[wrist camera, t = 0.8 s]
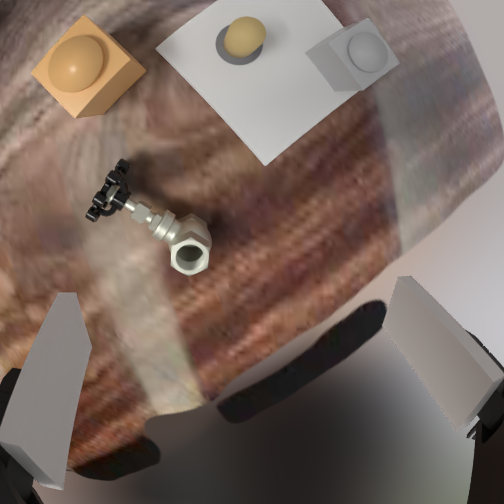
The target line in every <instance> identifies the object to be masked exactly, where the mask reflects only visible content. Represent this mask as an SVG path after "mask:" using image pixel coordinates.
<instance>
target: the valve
mask: <svg viewBox="0 0 504 504" xmlns="http://www.w3.org/2000/svg"><path fill="white" fill-rule="evenodd" d="M129 165H130V163H128V162H127V161H125V160H124V159H122V158H121V159H120V160H119V162H118V163H117V165H116V167H115V170H114V171H113V170H111V171H110V172H109V174H108V175H107V177H106V179H105V181H106V182H105V184H104V186H103V187H102V189H101V190H100V191H98V192H97V193H96V195H95V196H94V198H93V200H92V202H93V203H94V204H93V206H92V207H90V209H89V210H88V212H87V214H86V216H85V217H86V218H87V219H89V220H91V221H92V222H96V221H97V220H98V218H99V217H100V215H102V216H105V217H107V216H111V215H113V214H114V213H115V212H116V210H119V211H121V210H122V208H123V207H124V208H126V209H127V210H129V211H130V212H132V214H131V216H130V217H131V218H133V219H134V220H136V221H137V222H139V223H141V224H142V223H143V221H145V222H146V223H148V228H149V229H150V230H152V232H151V237H152V238H154V239H156V240H157V241H161V240H164V241H166V242H167V243H168V244H169V249H170V252H171V266H172V267H174V268H175V269H177V270H178V271H180V272H182V273H183V274H186V275H188V276H190V275H193V274H196V273H198V272H200V271H202V270H204V269H206V268H208V260H209V252H210V250H211V245H212V239H211V235H210V233H209V231H208V229H207V222H205V221H204V220H202V219H200V218H199V217H197V216H196V215H194V214H193V213H191V214H188V215H186V216H184V217H182V218H180V219H178V220H176V219H175V214H173V213H172V212H170V211H169V210H165V211H164V213H163V214H162V213H161V212H159V211H157V212H156V213H154V212H152V211H151V208H152V207H151V206H150V205H148V204H147V203H145V202H144V201H142V200H140V201H139V202H138V203H136V202H135V201H133V200H131V199H130V198H129V197H130V195H131V193H130V192H129V191H128V185H127V183H126V182H125V180H123V179H122V178H121V175H122V173H124V174H126V173H127V171H128V170H129V168H130V167H129ZM108 204H109V205H111V206H112V207H111V209H110V210H108V211H106V210H104V209H105V208H106V207H107V205H108ZM102 208H104V209H102Z"/></svg>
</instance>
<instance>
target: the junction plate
mask: <svg viewBox="0 0 504 504" xmlns="http://www.w3.org/2000/svg"><path fill="white" fill-rule="evenodd" d="M341 28H343V26H342V25H341V23H340V22H339V21H338V20H337V18H336V17H335V16H334V15H333V13H332V12H331V11H330V10H329V9H328V7H327V6H326V5H325V4H324V3H323V2H322V1H321V0H217V1H216V2H214V3H213V4H212V5H210V6H209V7H207V8H206V9H204V10H203V11H202V12H200V13H199V14H198V15H196V16H195V17H193V18H192V19H191V20H189V21H188V22H187V23H186V24H184V25H183V26H182V27H180V28H179V29H178V30H177V31H175V32H174V33H173V34H172V35H170V36H169V37H168V38H167V39H166V40H164V41H163V42H162V43H161V44H160V45H158V46H157V47H156V48H155V49H156V51H157V52H158V53H160V54H161V55H162V56H163V57H164V58H165V59H166V60H167V61H168V62H169V63H170V64H171V65H172V66H173V67H174V68H175V69H176V70H177V71H178V72H179V74H180V75H181V76H182V77H183V78H184V79H185V80H186V81H187V82H188V83H189V84H190V85H191V86H192V87H193V88H194V89H195V90H196V91H197V92H198V93H199V94H200V95H201V96H202V97H203V98H204V99H205V101H206V102H207V103H208V104H209V105H210V106H211V107H212V108H213V109H214V110H215V111H216V112H217V113H218V114H219V116H220V117H221V118H222V119H223V120H224V121H225V122H226V123H227V124H228V125H229V126H230V128H231V129H232V130H233V131H234V132H235V133H236V134H237V135H238V136H239V138H240V139H241V140H242V141H243V142H244V143H245V144H246V145H247V146H248V148H249V149H250V150H251V151H252V152H253V153H254V154H255V156H256V157H257V158H258V159H259V160H260V161H261V162H262V164H263V165H264V166H266V165H267V164H269V163H270V162H271V161H272V160H273V159H275V158H276V157H277V156H278V155H279V154H281V153H282V152H283V151H284V150H285V149H287V148H288V147H289V146H290V145H291V144H293V143H294V142H295V141H296V140H297V139H299V138H300V137H301V136H302V135H304V134H305V133H306V132H307V131H309V130H310V129H311V128H312V127H313V126H315V125H316V124H317V123H318V122H320V121H321V120H322V119H323V118H325V117H326V116H327V115H329V114H330V113H331V112H332V111H334V110H335V109H336V108H337V107H339V106H340V105H341V104H343V103H344V102H345V101H346V100H348V99H349V98H350V97H352V96H353V95H354V94H356V93H357V92H358V91H334V90H333V88H332V87H331V86H330V84H329V83H328V82H327V80H326V79H325V78H324V76H323V75H322V74H321V73H320V71H319V70H318V69H317V67H316V66H315V65H314V64H313V62H312V61H311V60H310V59H309V57H308V56H307V55H306V54H305V52H306V51H308V50H309V49H311V48H312V47H314V46H315V45H316V44H318V43H319V42H321V41H322V40H324V39H325V38H327V37H328V36H330V35H332V34H333V33H335V32H336V31H338V30H339V29H341Z"/></svg>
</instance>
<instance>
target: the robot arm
mask: <svg viewBox="0 0 504 504" xmlns="http://www.w3.org/2000/svg"><path fill="white" fill-rule="evenodd" d="M382 327H383V328H384V330H385V331H386V332H387V334H388V335H389V336H390V338H391V339H392V340H393V342H394V343H395V345H396V346H397V347H398V349H399V350H400V351H401V353H402V354H403V356H404V357H405V358H406V360H407V361H408V363H409V364H410V365H411V367H412V368H413V370H414V371H415V372H416V374H417V375H418V376H419V378H420V379H421V381H422V382H423V384H424V385H425V386H426V388H427V389H428V391H429V392H430V394H431V395H432V397H433V398H434V399H435V401H436V402H437V404H438V406H439V407H440V409H441V410H442V412H443V413H444V414H445V416H446V417H447V419H448V420H449V422H450V423H451V425H452V427H453V428H454V430H455V431H458V430H460V429H462V428H464V427H466V426H468V425H469V424H470V423H471V422H472V420H473V419H474V418H475V417H476V416H477V415H478V417H479V418H480V420H479V421H478V422H477V423H476V425H475V426H474V427H473V428H472V429H471V430H470V432H469V433H468V434H467V438H469V437H470V436H471V435H472V434H473V433H474V432H475V431H476V434H475V435H474V436H473V437H472V439H474V440H475V449H474V460H473V469H472V476H471V483H470V490H469V496H468V501H467V504H504V367H503V366H502V365H501V364H500V363H499V362H498V361H497V359H496V358H495V357H494V356H493V355H492V354H491V353H489V350H488V349H487V348H486V347H485V346H483V344H482V343H481V342H480V341H479V339H478V338H477V337H476V336H474V335H473V334H471V333H470V332H468V331H467V330H465V329H464V328H463V327H462V326H461V325H460V324H459V323H458V322H457V321H456V320H455V319H454V318H453V317H452V316H451V315H450V314H449V313H448V312H447V311H446V310H445V309H444V308H443V307H442V306H441V305H440V304H439V303H438V302H437V301H436V300H435V299H434V298H433V297H432V296H431V295H430V294H429V293H428V292H427V291H426V290H425V289H424V288H423V287H422V286H421V285H420V284H419V283H418V282H417V281H416V280H415V279H414V278H413V277H412V276H404V277H398V280H397V282H396V285H395V289H394V292H393V295H392V298H391V302H390V304H389V307H388V310H387V313H386V316H385V319H384V322H383V325H382ZM91 349H92V345H91V342H90V339H89V336H88V333H87V330H86V326H85V323H84V320H83V316H82V313H81V309H80V306H79V302H78V298H77V295H76V293H58V295H57V297H56V298H55V300H54V302H53V304H52V306H51V308H50V310H49V312H48V314H47V316H46V318H45V320H44V322H43V324H42V326H41V328H40V330H39V332H38V334H37V336H36V338H35V341H34V343H33V345H32V347H31V349H30V352H29V354H28V356H27V358H26V361H25V363H24V365H23V368H22V369H17V368H12V369H11V370H10V371H9V372H8V373H7V374H6V375H5V377H4V378H3V379H2V382H1V384H0V504H44V503H43V502H42V500H41V499H40V497H39V496H38V494H37V492H36V490H35V489H34V488H33V487H32V485H33V479H35V480H36V481H37V482H38V483H40V484H41V485H42V486H46V487H50V488H55V489H60V490H63V487H64V478H65V471H66V464H67V458H68V452H69V446H70V440H71V434H72V429H73V424H74V419H75V414H76V409H77V405H78V400H79V396H80V392H81V387H82V383H83V379H84V375H85V371H86V367H87V364H88V360H89V356H90V353H91Z"/></svg>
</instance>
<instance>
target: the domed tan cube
mask: <svg viewBox="0 0 504 504" xmlns="http://www.w3.org/2000/svg"><path fill="white" fill-rule="evenodd" d="M146 71H147V70H146V69H145V68H144V67H143V66H142V65H141V64H140V63H139V62H138V61H137V60H136V59H135V58H134V57H133V56H132V55H131V54H130V53H129V52H128V51H127V50H126V49H124V48H123V47H122V46H121V45H120V44H119V43H118V42H117V41H116V40H115V39H114V38H113V37H112V36H111V35H110V34H109V33H107V32H106V31H105V30H104V29H102V28H101V27H100V26H98V25H97V24H96V23H94V22H93V21H92V20H90V19H89V18H88V17H86V16H85V15H83V16H82V17H81V18H80V19H79V20H78V21H77V22H76V23H75V24H74V25H73V26H72V27H71V28H70V29H69V30H68V31H67V32H66V33H65V34H64V35H63V36H62V37H61V38H60V39H59V40H58V41H57V43H56V44H55V45H54V46H53V47H52V48H51V49H50V50H49V52H48V53H47V54H46V55H45V56H44V57H43V59H42V60H41V61H40V62H39V63H38V65H37V66H36V67H35V68H34V70H33V71H32V72H31V73H32V75H33V76H34V77H35V78H36V79H37V80H38V81H39V82H40V83H41V84H42V85H43V86H44V87H45V88H46V89H47V90H48V91H49V92H50V93H51V94H52V96H53V97H54V98H55V99H56V100H57V101H58V102H59V103H60V104H61V105H62V106H63V107H64V108H65V109H66V110H67V111H68V112H69V113H70V114H71V115H72V116H73V117H74V118H81V117H89V116H96V115H103V114H104V113H105V112H106V111H107V110H108V109H109V108H110V107H111V106H112V105H113V104H114V103H115V102H116V101H117V100H118V99H119V98H120V97H121V96H122V95H123V94H124V93H125V92H126V91H127V90H128V89H129V88H130V87H131V86H132V85H133V84H134V83H135V82H136V81H137V80H138V79H139V78H140V77H141V76H142V75H143V74H144V73H145V72H146Z"/></svg>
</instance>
